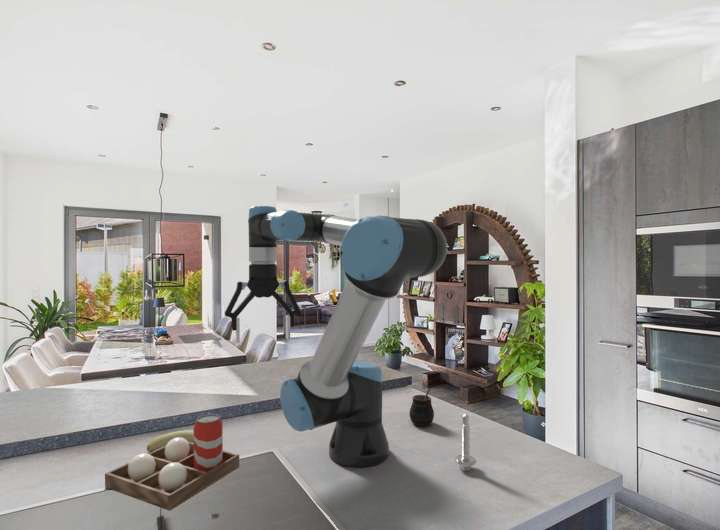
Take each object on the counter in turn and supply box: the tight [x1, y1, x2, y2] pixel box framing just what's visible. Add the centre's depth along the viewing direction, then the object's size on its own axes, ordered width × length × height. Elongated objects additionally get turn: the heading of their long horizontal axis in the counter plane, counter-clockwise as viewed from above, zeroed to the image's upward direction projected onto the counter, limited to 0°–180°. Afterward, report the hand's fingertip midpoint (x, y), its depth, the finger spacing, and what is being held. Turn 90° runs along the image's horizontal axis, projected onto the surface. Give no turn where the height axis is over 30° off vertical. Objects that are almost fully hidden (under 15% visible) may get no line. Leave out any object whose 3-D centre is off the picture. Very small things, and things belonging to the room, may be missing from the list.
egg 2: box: [165, 437, 190, 462], centre depth 106 cm, size 6×6×6 cm
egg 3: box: [158, 462, 187, 492], centre depth 93 cm, size 6×6×6 cm
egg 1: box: [128, 452, 156, 481], centre depth 97 cm, size 6×6×6 cm
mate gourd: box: [409, 387, 435, 428], centre depth 131 cm, size 7×8×10 cm
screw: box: [454, 413, 477, 472], centre depth 103 cm, size 13×5×5 cm
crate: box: [104, 442, 240, 512], centre depth 99 cm, size 20×20×3 cm
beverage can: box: [193, 413, 224, 472], centre depth 102 cm, size 6×6×12 cm
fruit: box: [146, 429, 194, 452], centre depth 116 cm, size 7×15×3 cm, turn 104°
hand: (263, 340), depth 121 cm, fingers open, 13 cm apart
